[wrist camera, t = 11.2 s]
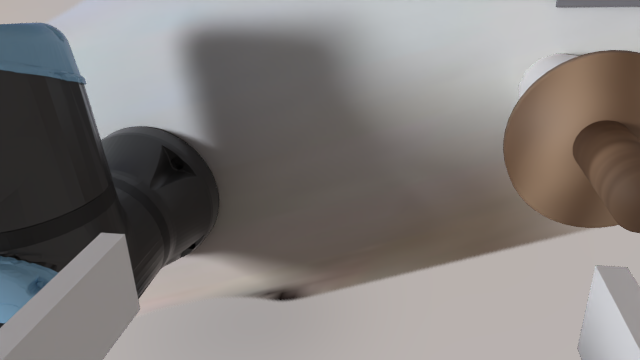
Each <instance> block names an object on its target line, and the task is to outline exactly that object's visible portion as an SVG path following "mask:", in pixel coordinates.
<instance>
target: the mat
mask: <svg viewBox="0 0 640 360" xmlns="http://www.w3.org/2000/svg"><path fill="white" fill-rule="evenodd" d="M624 6H640V0H557V2H556V7H624Z"/></svg>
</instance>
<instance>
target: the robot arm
mask: <svg viewBox="0 0 640 360" xmlns="http://www.w3.org/2000/svg"><path fill="white" fill-rule="evenodd" d="M84 84H86V81H85V79H84V77H82V76H81V75H80V72H79V70H78V67H77V64H76V61H75V59H74V56H73V53H72V50H71V48H70V45H69V42H68V40H67V38H66V37H65V36H64V34H63V33H62V32H61V31H59V30H58V29H57V28H55V27H53V26H51V25H48V24H45V23H20V24H0V360H103V359H104V357H105V356H106V355H107V353H108V352H109V350H110V349H111V348H112V346H113V345H114V344H115V342H116V341H117V340H118V338H119V337H120V336H121V334H122V333H123V332H124V330H125V329H126V328H127V326H128V325H129V323H130V322H131V321H132V320H133V318H134V317H135V316H136V314H137V313H138V311H139V310H140V305H139V300H138V299H139V298H140V296H141V295H142V294H143V292H144V291H145V289H146V288H147V287H148V285H149V284H150V283H151V281H152V280H153V279H154V277H155V276H156V275H157V273H158V272H159V271H160V269H161V268H162V267H164V266H166V265H168V264H170V263H172V262H174V261H176V260H178V259H179V258H181V257H184V256H185V255H187V254H189V253H191V252H192V251H193V250H195V249H196V248H197V247H198V246H199V245H200V244H201V243H202V242H203V240H204V239H205V238H206V236H207V235H208V233H209V232H210V231H211V229H212V227H213V226H214V224H215V221H216V218H217V215H218V209H219V196H218V190H217V186H216V183H215V180H214V177H213V175H212V173H211V171H210V169H209V168H208V166H207V165H206V163H205V162H204V160H203V159H202V158H201V157H200V155H199V154H198V153H197V152H196V151H195V150H194V149H193V148H191V147H190V146H189V145H188V144H187V143H185V142H184V141H182V140H181V139H179V138H178V137H176V136H174V135H172V134H170V133H167V132H165V131H162V130H159V129H155V128H150V127H129V128H124V129H121V130H118V131H116V132H113V133H112V134H110V135H108V136H107V137H105V138H104V139H102V140H101V139H100V136H99V132H98V129H97V126H96V122H95V119H94V116H93V112H92V109H91V106H90V102H89V99H88V96H87V93H86V89H85V86H84ZM578 351H579V354H580V357H581V359H582V360H640V287H639V285H638V284H637V282H636V280H635V279H634V277H633V276H632V274H631V272H630V271H629V269H628V267H615V266H599V265H596V266H595V270H594V275H593V279H592V284H591V288H590V293H589V297H588V302H587V307H586V311H585V316H584V320H583V325H582V329H581V334H580V339H579V343H578Z"/></svg>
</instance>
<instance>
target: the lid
mask: <svg viewBox="0 0 640 360" xmlns="http://www.w3.org/2000/svg"><path fill="white" fill-rule="evenodd" d="M503 152H504V160H505V164H506V168H507V171H508V174H509V177H510V179H511V181H512V184H513V186H514V188H515V189H516V191H517V192H518V194H519V195H520V196H521V198H522V199H523V200H524V201H525V202H526V203H527V204H528V205H529V206H530V207H532V208H533V209H534V210H535V211H537V212H538V213H540V214H542V215H543V216H545V217H547V218H549V219H551V220H554V221H556V222H559V223H562V224H566V225H571V226H576V227H586V228H601V227H609V226H615V225H620V226H621V227H623V228H625V229H626V230H629V231H632V232H637V233H640V53H637V52H632V51H622V50H609V51H598V52H593V53H588V54H584V55H581V56H578V57H575V58H572V59H570V60H568V61H565V62H563V63H561V64H559V65H557V66H556V67H554V68H552V69H551V70H549V71H548V72H546V73H545V74H544V75H542V76H541V77H540V78H538V79H537V80H536V81H535V82H534V83H533V84H532V85H531V86H530V87H529V88H528V89H527V90H526V91H525V93H524V94H523V95H522V96H521V98H520V99H519V101H518V102H517V104H516V105H515V107H514V109H513V111H512V113H511V115H510V117H509V120H508V123H507V126H506V129H505V135H504V144H503Z"/></svg>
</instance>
